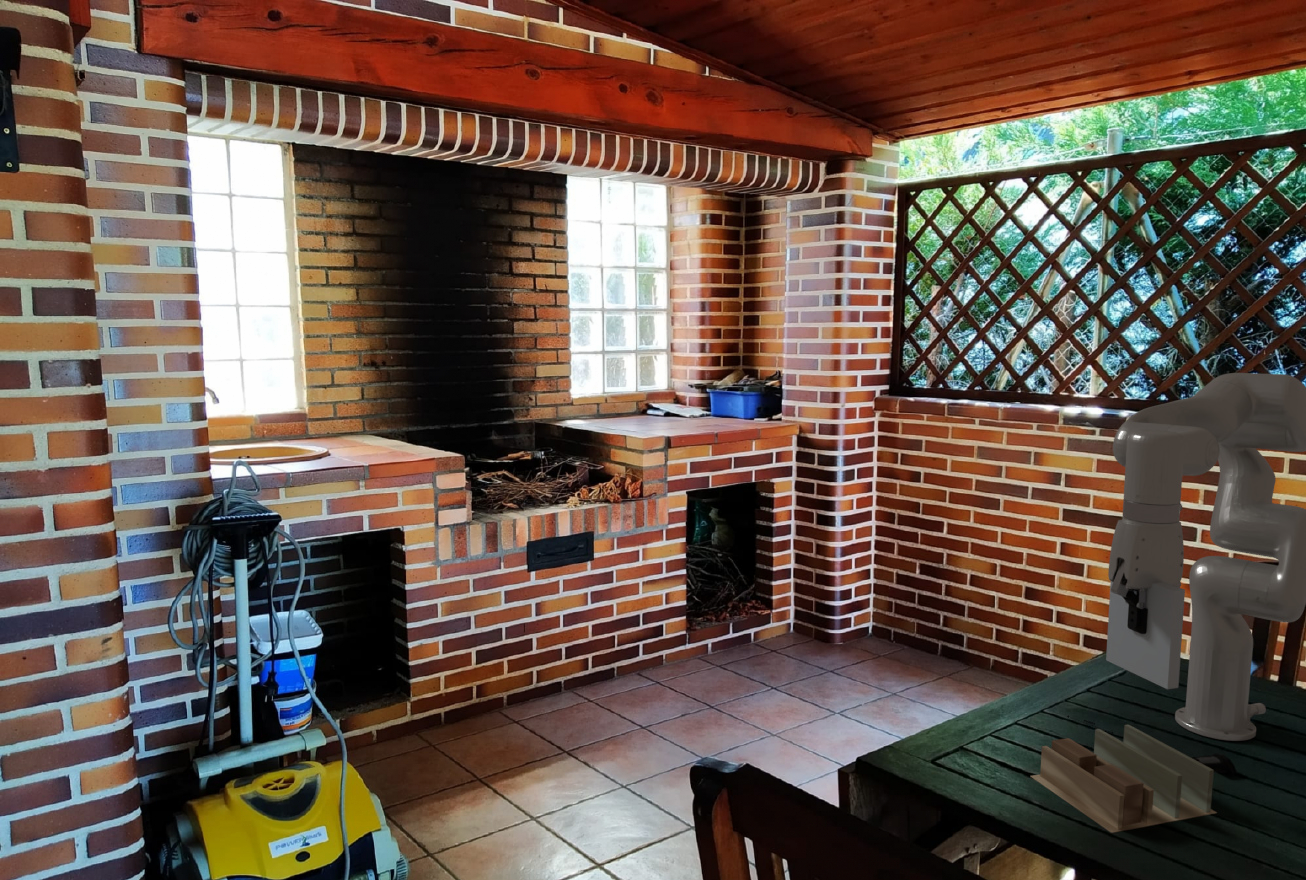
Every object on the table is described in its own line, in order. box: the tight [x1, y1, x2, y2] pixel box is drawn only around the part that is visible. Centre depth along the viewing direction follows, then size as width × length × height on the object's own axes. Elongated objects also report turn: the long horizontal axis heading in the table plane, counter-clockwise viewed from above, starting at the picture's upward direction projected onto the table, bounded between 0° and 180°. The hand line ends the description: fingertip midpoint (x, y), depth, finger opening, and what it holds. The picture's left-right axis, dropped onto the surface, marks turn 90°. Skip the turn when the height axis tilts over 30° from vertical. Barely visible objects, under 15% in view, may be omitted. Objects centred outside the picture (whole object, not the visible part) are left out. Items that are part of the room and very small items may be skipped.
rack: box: [1030, 724, 1218, 834], centre depth 138 cm, size 19×17×8 cm
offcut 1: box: [1051, 737, 1097, 776], centre depth 141 cm, size 3×6×6 cm, turn 16°
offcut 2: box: [1094, 764, 1144, 826], centre depth 133 cm, size 3×6×6 cm, turn 16°
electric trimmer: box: [1189, 752, 1238, 776], centre depth 148 cm, size 4×16×3 cm, turn 99°
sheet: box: [1105, 581, 1186, 690], centre depth 138 cm, size 2×12×15 cm, turn 16°
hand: (1143, 629), depth 138 cm, fingers closed on sheet, 1 cm apart
